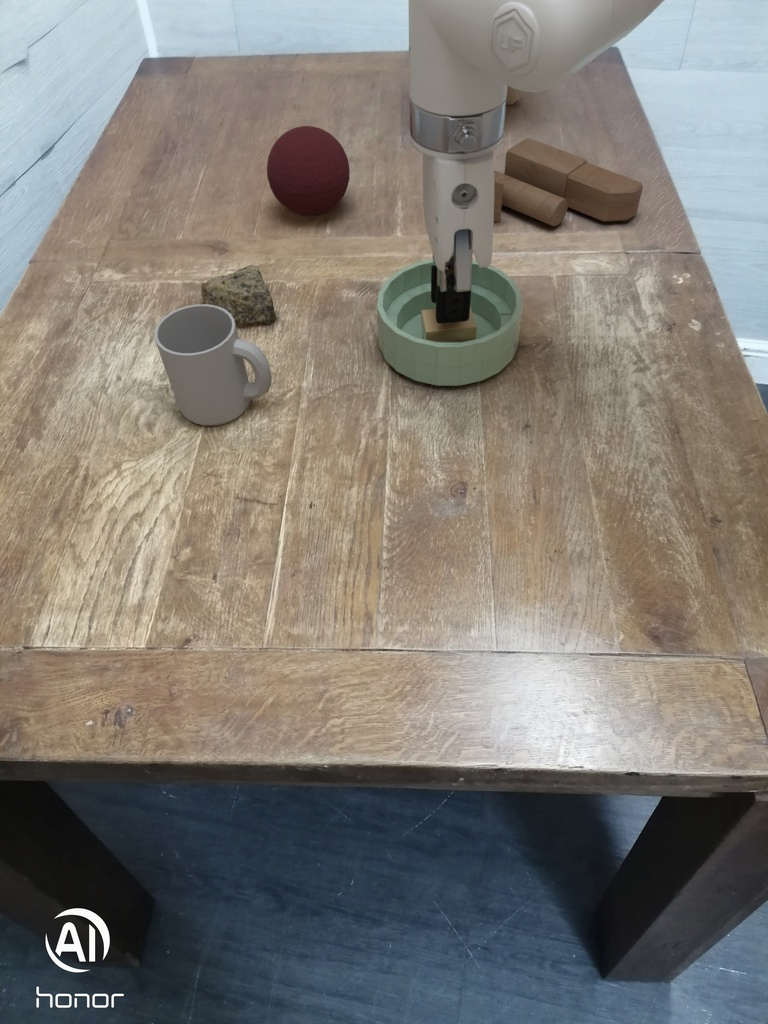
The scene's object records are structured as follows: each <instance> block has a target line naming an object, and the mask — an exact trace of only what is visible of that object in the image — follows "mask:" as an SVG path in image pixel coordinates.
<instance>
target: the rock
mask: <svg viewBox="0 0 768 1024" xmlns="http://www.w3.org/2000/svg"><path fill="white" fill-rule="evenodd" d="M259 268H260V267H259V266H257V265H252V264H250V265H247V266H245V267H243V268H239V269H237V270H235V271H233V272H231V273H228V274H224V275H220V276H218V277H214V278H209V279H208V280H207V281H205V282H201V284H200V290H201V291H200V294H201V297H202V302H203V304H209V305H214V306H218V307H221V308H223V309H225V310H227V311H228V312H229V313H230V314H231V315H232V317H233V318H234V320H235V323H237V324H251V323H252V324H258V323H262V322H264V323H265V324H271V322H272V321H275V320H276V319H277V315H276V313H275V306H274V301H273V297H272V295H271V292H270V291H269V289H268V286H267V285H266V284H265V281H264V278H263V275H262V272H261V271H260V269H259Z"/></svg>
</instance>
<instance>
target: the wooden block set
mask: <svg viewBox="0 0 768 1024" xmlns="http://www.w3.org/2000/svg"><path fill="white" fill-rule="evenodd" d="M504 162H505V164H504V172H502V173H501V172H500V171H497V170H495V169H494V222H493V223H500V222H501V217H502V206H505V207H507V208H509V209H511V210H514V211H516V212H519V213H521V214H523V215H526V216H528V217H530V218H533V219H535V220H538V221H539V222H542V223H545V224H547V225H549V226H552V227H557V226H558V225H560V224H561V223H562V221H563V220H564V219H565V217H566V215H567V211H568V208H569V209H571V210H574V211H577V212H578V213H579V212H580V213H581V214H584V215H586V216H589V217H590V218H591V217H592V218H593V219H596V220H598V221H601V222H604V223H605V222H606V223H607V222H626V221H628V220H629V219H631V218H632V217H634V216H635V215H636V214H637V213H638V209H639V206H640V201H641V196H642V193H643V188H644V185H643V183H642V182H641V181H638V180H635V179H633V178H630V177H628V176H625V175H622V174H620V173H617V172H615V171H612V170H608V169H606V168H603V167H601V166H598V165H595V164H593V163H589V162H588V160H587V159H586V158H583V157H581V156H579V155H576V154H573V153H570V152H567V151H565V150H562V149H560V148H556V147H554V146H551V145H548V144H545V143H543V142H540V141H538V140H535V139H533V138H529V137H528V138H525V139H523V140H521V141H520V142H518V143H517V144H515V145H513V146H512V147H510V148H508V149H507V150H506V152H505V161H504Z"/></svg>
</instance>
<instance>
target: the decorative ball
mask: <svg viewBox="0 0 768 1024" xmlns="http://www.w3.org/2000/svg"><path fill="white" fill-rule="evenodd" d="M266 178H267V181H268V185H269V187H270V190H271V192H272V194H273V196H274V197H275V198H276V200H277V201H278V202H279V204H280V205H282V207H284V208H285V209H286V210H288V211H289V212H292V213H294V214H296V215H299V216H304V217H315V216H320V215H321V216H322V215H324V214H326V213H328V212H330V211H331V210H332V209H334V208H335V207H336V206H337V205H339V203H340V202H341V201H342V199H343V198H344V196H345V194H346V192H347V189H348V186H349V182H350V164H349V159H348V156H347V153H346V151H345V149H344V147H343V145H342V144H341V143H340V141H339V140H338V139H337V138H336V137H335V136H334V135H332V134H331V133H330V132H328V131H327V130H325V129H323V128H320V127H316V126H312V125H301V126H297V127H293V128H291V129H289V130H287V131H285V132H284V133H283V134H282V135H280V136H279V137H278V138H277V139H276V140H275V142H274V143H273V145H272V147H271V149H270V152H269V154H268V156H267V164H266Z"/></svg>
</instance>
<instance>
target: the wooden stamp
mask: <svg viewBox="0 0 768 1024" xmlns="http://www.w3.org/2000/svg"><path fill="white" fill-rule="evenodd" d="M449 274H454V268H451V269H447V276H448V275H449ZM439 285H440V270H439V269H438V268H437V286H439ZM421 327H422V339H424V340H429V341H434V342H465V341H470V340H475V339H476V331H477V326H476V323H475V319H474V316H473V312H472V309H471V306H470V315H469V319H468V320H467V321H463V322H452V323H442V324H439V323H437V322H436V309H428V310H421Z"/></svg>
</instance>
